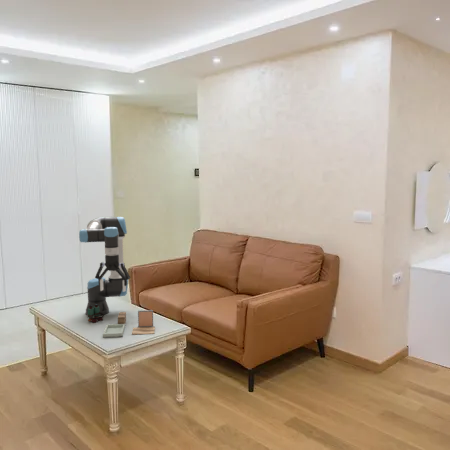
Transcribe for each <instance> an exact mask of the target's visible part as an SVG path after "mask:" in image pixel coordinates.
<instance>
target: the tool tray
mask: <svg viewBox="0 0 450 450" xmlns="http://www.w3.org/2000/svg"><path fill="white" fill-rule="evenodd" d="M125 330H126V324H118V323H115V324H112V323H111V324H106V325H105V328H104V330H103V333H102V338H104V339H106V338H123V336H124V332H125Z"/></svg>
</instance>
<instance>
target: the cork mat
mask: <svg viewBox="0 0 450 450" xmlns="http://www.w3.org/2000/svg"><path fill="white" fill-rule="evenodd" d="M155 329H156V328H155V326H151V327H133V328H132V331H131V335H132V336H133V335H134V336H135V335H137V334H139V335H154V334H155ZM137 336H138V335H137Z"/></svg>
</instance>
